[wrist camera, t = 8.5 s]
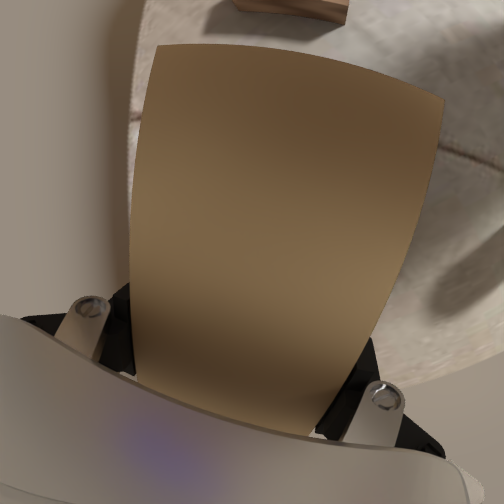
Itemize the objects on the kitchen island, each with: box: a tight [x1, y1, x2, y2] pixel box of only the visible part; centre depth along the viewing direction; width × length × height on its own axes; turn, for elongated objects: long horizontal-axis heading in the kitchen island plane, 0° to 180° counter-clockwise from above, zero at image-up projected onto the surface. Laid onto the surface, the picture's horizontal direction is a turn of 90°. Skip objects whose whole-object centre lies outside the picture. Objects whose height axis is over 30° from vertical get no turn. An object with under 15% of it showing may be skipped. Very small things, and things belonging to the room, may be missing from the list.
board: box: [129, 44, 445, 436], centre depth 8 cm, size 16×6×3 cm, turn 169°
